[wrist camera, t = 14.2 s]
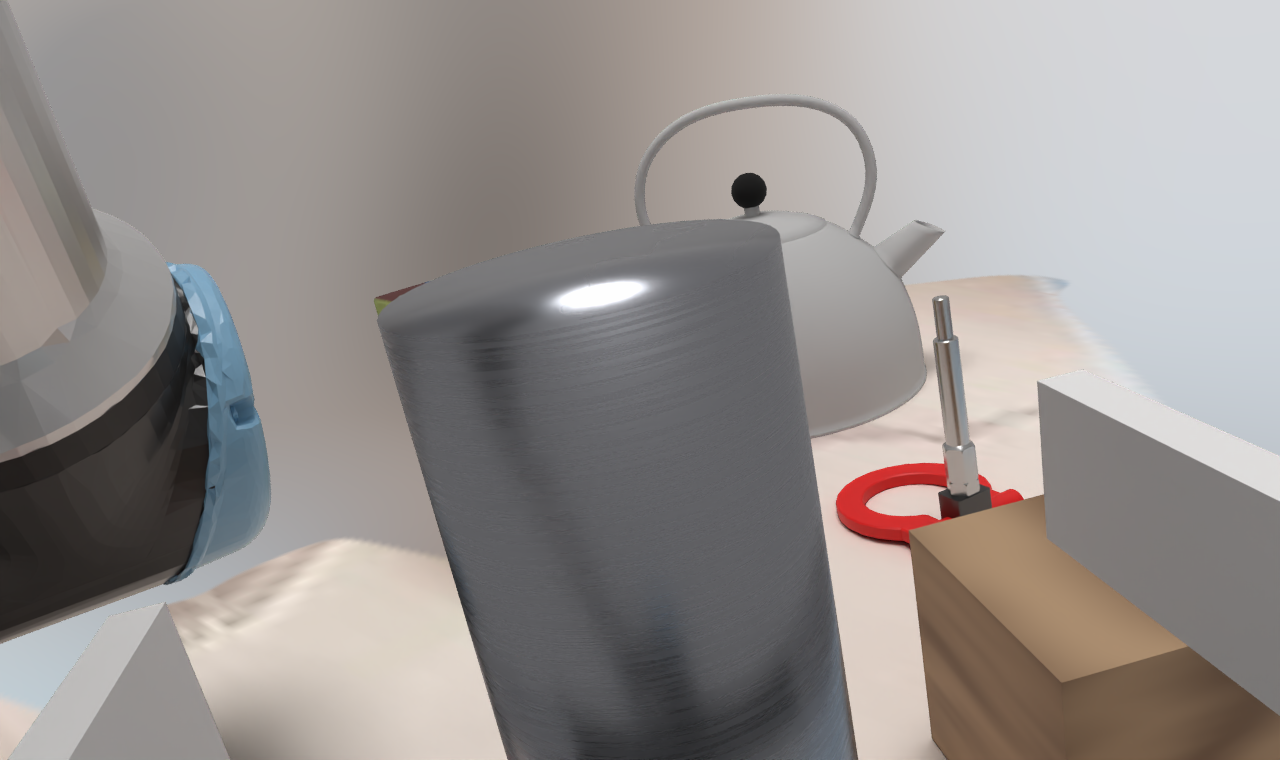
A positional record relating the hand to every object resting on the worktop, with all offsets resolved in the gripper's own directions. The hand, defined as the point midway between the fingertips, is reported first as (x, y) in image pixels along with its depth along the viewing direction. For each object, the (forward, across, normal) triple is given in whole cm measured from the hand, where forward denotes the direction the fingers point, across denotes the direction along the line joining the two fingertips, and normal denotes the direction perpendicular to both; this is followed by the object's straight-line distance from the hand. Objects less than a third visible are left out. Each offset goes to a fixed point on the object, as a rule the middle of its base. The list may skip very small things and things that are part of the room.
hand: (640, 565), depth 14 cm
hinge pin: (-2, 0, -10) cm, 10 cm away
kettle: (+56, +19, -19) cm, 62 cm away
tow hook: (+32, +18, -19) cm, 41 cm away
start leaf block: (+11, +15, -19) cm, 26 cm away
